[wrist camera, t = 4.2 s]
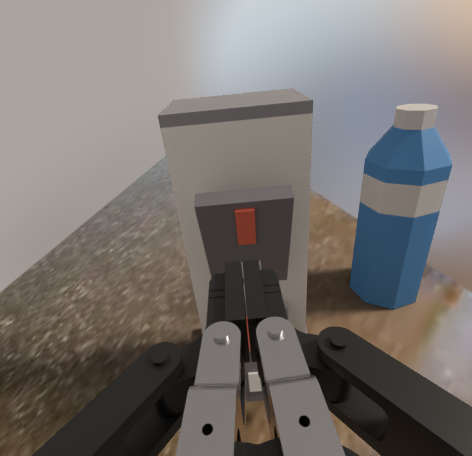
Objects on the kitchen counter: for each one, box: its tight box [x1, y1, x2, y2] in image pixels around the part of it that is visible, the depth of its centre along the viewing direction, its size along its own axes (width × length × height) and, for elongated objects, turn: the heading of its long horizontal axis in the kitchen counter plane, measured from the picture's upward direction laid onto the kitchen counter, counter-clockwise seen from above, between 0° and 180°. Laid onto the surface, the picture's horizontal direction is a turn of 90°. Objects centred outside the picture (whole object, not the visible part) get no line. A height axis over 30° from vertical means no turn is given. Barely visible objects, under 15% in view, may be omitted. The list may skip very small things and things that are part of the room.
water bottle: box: [349, 104, 452, 309], centre depth 39 cm, size 9×9×25 cm
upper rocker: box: [194, 185, 294, 284], centre depth 22 cm, size 2×6×9 cm, turn 92°
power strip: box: [158, 89, 313, 334], centre depth 30 cm, size 10×13×29 cm
